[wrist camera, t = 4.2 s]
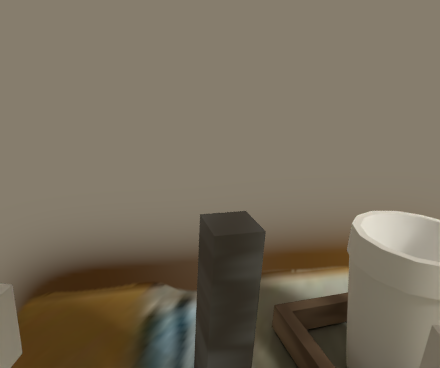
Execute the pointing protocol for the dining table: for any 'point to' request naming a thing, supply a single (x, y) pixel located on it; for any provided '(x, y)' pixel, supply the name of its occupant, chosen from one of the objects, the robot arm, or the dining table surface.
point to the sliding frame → (249, 299)
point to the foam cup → (392, 288)
